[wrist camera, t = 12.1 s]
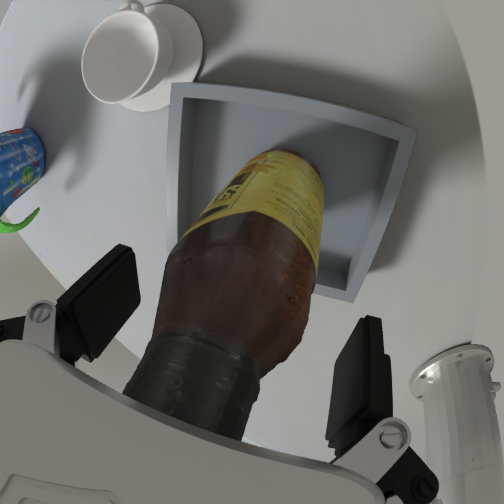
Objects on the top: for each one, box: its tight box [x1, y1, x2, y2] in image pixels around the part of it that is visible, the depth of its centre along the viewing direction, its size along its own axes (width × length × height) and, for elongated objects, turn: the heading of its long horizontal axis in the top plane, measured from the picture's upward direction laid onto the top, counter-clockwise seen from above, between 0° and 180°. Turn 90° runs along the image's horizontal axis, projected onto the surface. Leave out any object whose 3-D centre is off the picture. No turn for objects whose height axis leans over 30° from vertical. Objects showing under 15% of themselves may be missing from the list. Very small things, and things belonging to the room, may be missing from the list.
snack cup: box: [0, 128, 45, 233], centre depth 22 cm, size 16×10×10 cm
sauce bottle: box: [122, 149, 324, 441], centre depth 13 cm, size 6×6×20 cm
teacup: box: [81, 0, 203, 112], centre depth 17 cm, size 10×10×5 cm
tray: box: [166, 82, 418, 303], centre depth 21 cm, size 16×14×4 cm
